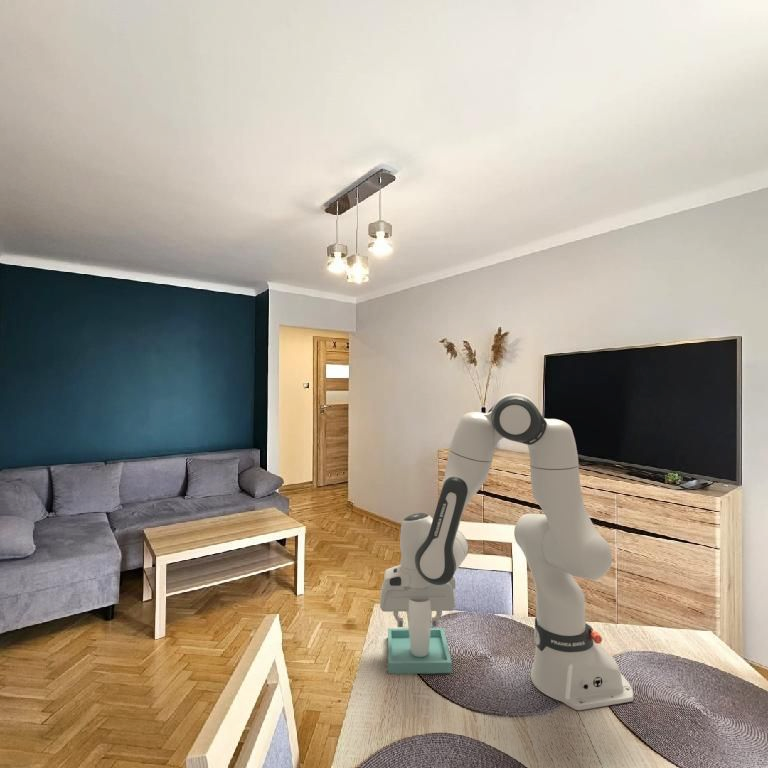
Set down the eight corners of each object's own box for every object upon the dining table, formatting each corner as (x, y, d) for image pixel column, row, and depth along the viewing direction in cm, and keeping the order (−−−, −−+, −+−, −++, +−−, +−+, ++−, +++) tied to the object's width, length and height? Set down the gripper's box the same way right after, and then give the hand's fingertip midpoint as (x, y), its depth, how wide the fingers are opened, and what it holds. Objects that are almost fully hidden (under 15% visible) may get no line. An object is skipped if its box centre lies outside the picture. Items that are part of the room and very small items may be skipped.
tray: (443, 637, 126) (443, 628, 126) (451, 673, 110) (451, 662, 110) (387, 637, 126) (387, 628, 126) (388, 673, 110) (388, 663, 110)
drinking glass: (431, 661, 114) (430, 603, 114) (405, 658, 115) (404, 601, 115) (433, 646, 120) (432, 591, 121) (409, 643, 122) (408, 589, 122)
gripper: (453, 569, 121) (454, 619, 121) (379, 570, 121) (380, 620, 121) (457, 578, 115) (457, 631, 115) (379, 580, 115) (380, 632, 115)
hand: (417, 625), depth 118 cm, fingers open, 8 cm apart
